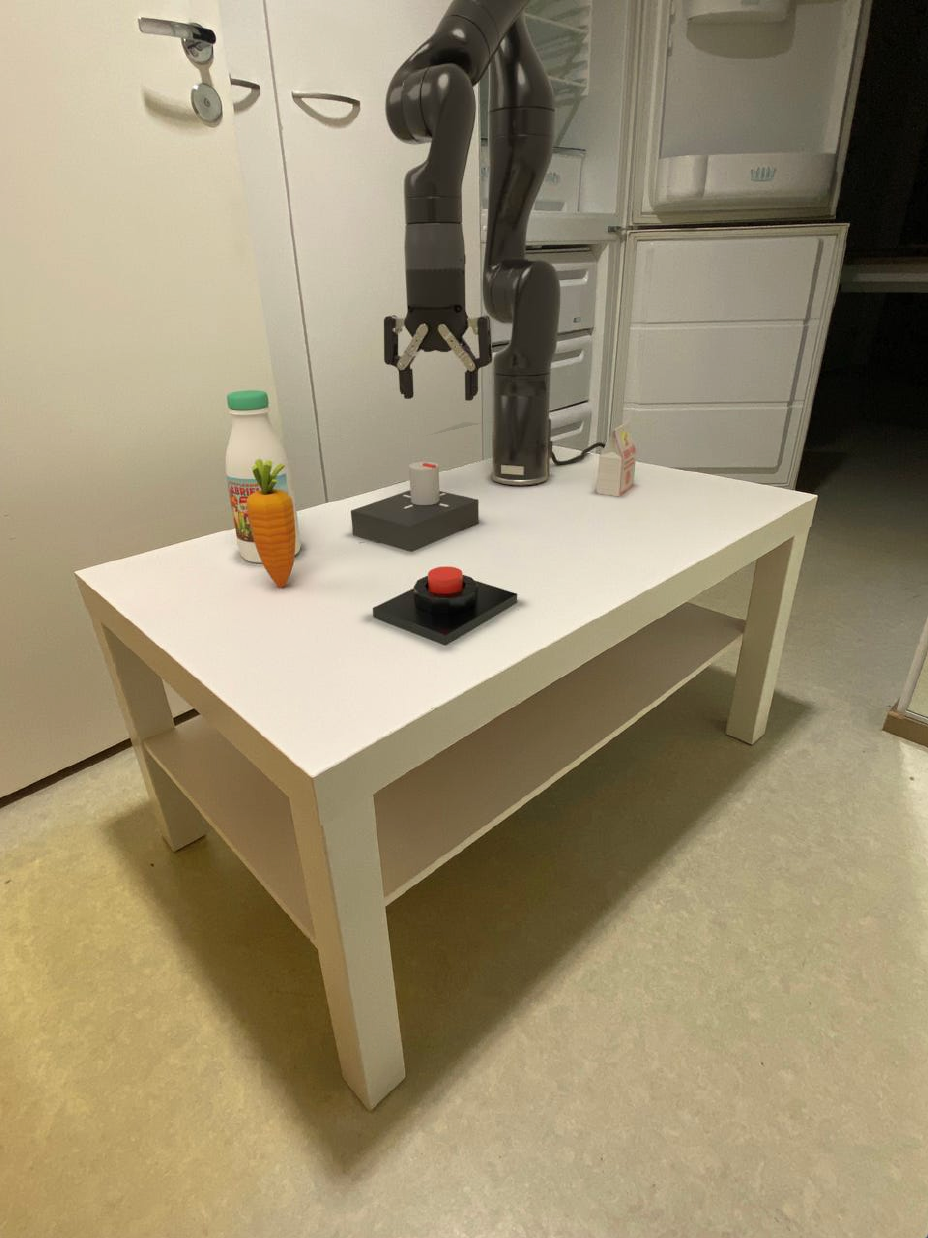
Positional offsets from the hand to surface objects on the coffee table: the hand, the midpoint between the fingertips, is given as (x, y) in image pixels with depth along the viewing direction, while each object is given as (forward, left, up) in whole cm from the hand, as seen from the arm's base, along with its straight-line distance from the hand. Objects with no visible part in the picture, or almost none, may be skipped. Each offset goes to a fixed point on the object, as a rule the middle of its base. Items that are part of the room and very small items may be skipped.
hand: (439, 398), depth 96 cm
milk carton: (-26, +14, -17) cm, 34 cm away
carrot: (+31, +2, -17) cm, 35 cm away
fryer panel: (+7, +1, -16) cm, 18 cm away
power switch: (+24, +21, -16) cm, 36 cm away
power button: (+24, +21, -14) cm, 35 cm away
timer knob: (+5, +1, -13) cm, 14 cm away
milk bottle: (+25, -8, -17) cm, 31 cm away
